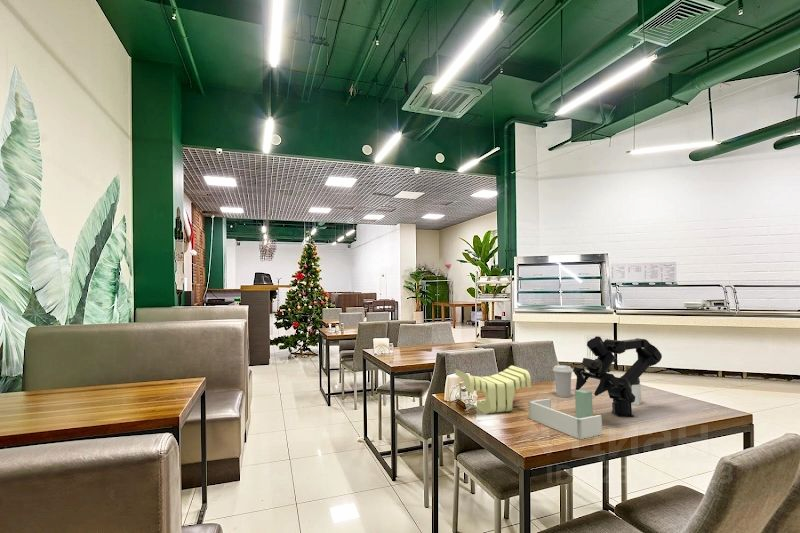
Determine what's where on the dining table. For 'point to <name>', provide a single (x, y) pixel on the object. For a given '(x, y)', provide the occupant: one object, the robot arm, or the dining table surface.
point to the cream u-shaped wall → (565, 420)
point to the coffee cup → (563, 380)
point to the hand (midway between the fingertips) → (585, 392)
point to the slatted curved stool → (497, 388)
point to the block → (583, 403)
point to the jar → (636, 392)
